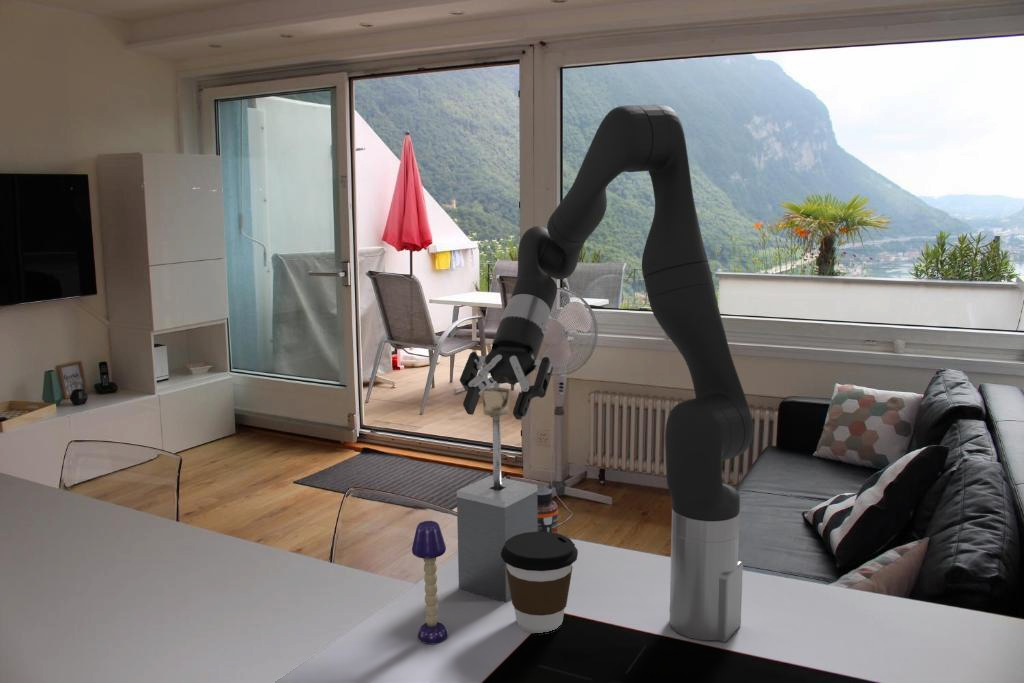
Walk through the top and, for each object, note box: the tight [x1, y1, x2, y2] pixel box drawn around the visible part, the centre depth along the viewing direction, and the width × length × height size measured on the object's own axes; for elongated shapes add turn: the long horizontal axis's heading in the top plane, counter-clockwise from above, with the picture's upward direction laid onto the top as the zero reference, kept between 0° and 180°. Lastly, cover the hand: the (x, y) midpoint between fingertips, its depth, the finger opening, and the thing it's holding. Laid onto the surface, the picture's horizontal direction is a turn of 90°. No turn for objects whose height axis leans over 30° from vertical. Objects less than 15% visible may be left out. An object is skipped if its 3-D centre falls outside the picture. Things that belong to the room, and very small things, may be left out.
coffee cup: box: [501, 532, 579, 634], centre depth 122 cm, size 11×11×12 cm
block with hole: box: [456, 475, 538, 603], centre depth 135 cm, size 9×9×16 cm
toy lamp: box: [411, 520, 449, 645], centre depth 118 cm, size 5×5×17 cm
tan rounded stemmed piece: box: [482, 387, 510, 491], centre depth 133 cm, size 7×7×18 cm
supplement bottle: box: [537, 487, 559, 534], centre depth 147 cm, size 6×6×11 cm
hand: (492, 414), depth 130 cm, fingers open, 7 cm apart
